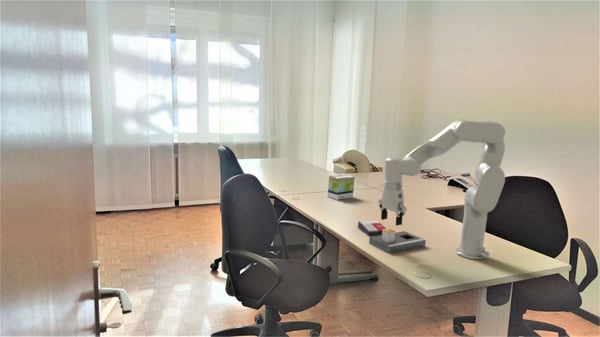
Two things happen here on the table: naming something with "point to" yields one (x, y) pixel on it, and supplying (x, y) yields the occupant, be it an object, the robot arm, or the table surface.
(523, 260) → the table surface
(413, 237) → the port panel
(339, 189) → the tea box
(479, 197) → the robot arm
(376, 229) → the calculator
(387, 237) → the plug
